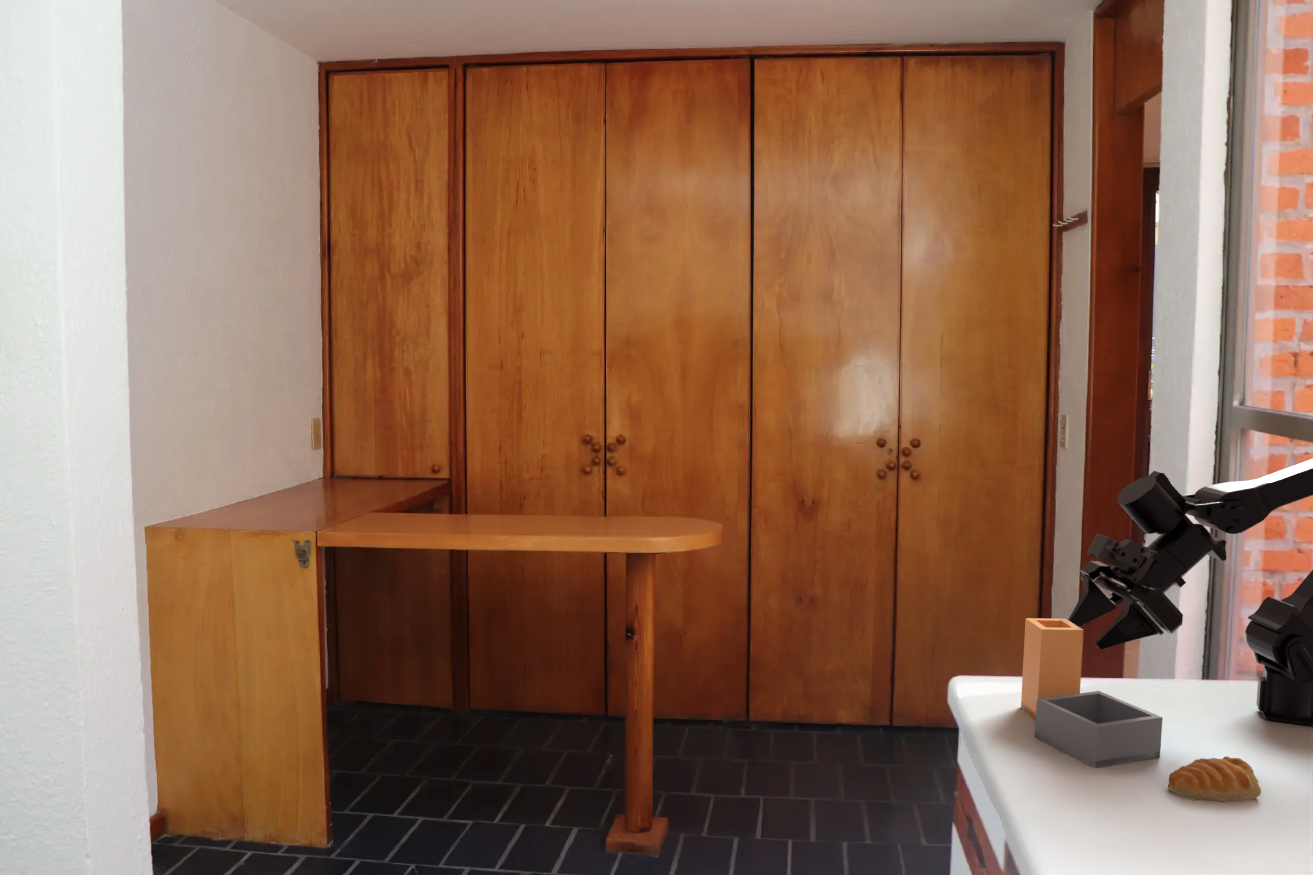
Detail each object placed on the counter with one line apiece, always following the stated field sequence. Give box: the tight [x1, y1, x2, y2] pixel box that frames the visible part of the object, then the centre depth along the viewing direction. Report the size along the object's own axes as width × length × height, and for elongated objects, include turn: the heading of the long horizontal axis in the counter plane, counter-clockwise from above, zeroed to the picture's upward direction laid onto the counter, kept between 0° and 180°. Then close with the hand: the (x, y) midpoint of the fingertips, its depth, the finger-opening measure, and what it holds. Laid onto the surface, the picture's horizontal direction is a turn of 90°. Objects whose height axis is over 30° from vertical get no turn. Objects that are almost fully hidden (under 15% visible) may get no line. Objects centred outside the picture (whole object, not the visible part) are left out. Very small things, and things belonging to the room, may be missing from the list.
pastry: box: [1167, 755, 1262, 804], centre depth 117 cm, size 9×7×4 cm
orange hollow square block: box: [1020, 617, 1085, 721], centre depth 141 cm, size 6×6×12 cm
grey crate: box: [1034, 690, 1163, 769], centre depth 130 cm, size 10×10×5 cm
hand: (1082, 636), depth 141 cm, fingers open, 9 cm apart
